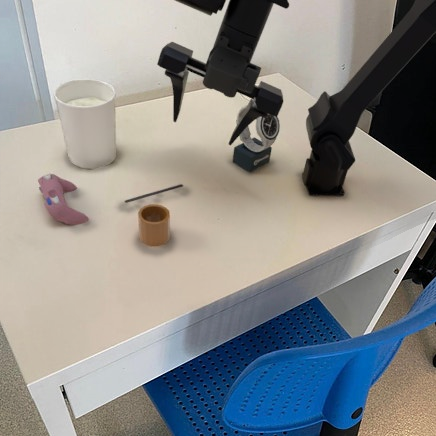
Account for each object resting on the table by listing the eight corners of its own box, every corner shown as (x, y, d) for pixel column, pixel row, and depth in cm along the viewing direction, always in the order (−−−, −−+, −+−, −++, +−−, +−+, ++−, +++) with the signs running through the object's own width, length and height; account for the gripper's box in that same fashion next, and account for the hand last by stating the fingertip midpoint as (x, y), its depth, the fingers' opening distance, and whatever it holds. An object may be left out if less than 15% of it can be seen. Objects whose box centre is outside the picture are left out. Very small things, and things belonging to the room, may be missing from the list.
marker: (148, 202, 76) (187, 190, 84) (145, 194, 76) (185, 182, 84) (122, 209, 80) (162, 197, 88) (120, 201, 80) (160, 190, 87)
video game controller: (55, 202, 82) (28, 173, 77) (78, 187, 82) (53, 158, 76) (68, 240, 76) (39, 212, 71) (93, 224, 76) (66, 195, 70)
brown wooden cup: (160, 229, 77) (160, 200, 73) (174, 246, 75) (175, 218, 71) (134, 237, 76) (132, 209, 72) (147, 255, 73) (146, 227, 69)
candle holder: (109, 176, 86) (102, 111, 77) (55, 166, 86) (42, 100, 78) (127, 146, 92) (123, 84, 84) (77, 137, 93) (68, 74, 84)
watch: (257, 177, 89) (266, 121, 81) (225, 157, 92) (231, 101, 84) (277, 166, 92) (288, 111, 84) (245, 147, 95) (253, 92, 87)
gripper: (168, 5, 61) (134, 124, 69) (305, 67, 64) (256, 174, 72) (181, -1, 70) (149, 104, 79) (300, 53, 73) (257, 149, 81)
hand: (202, 132), depth 77 cm, fingers open, 9 cm apart
